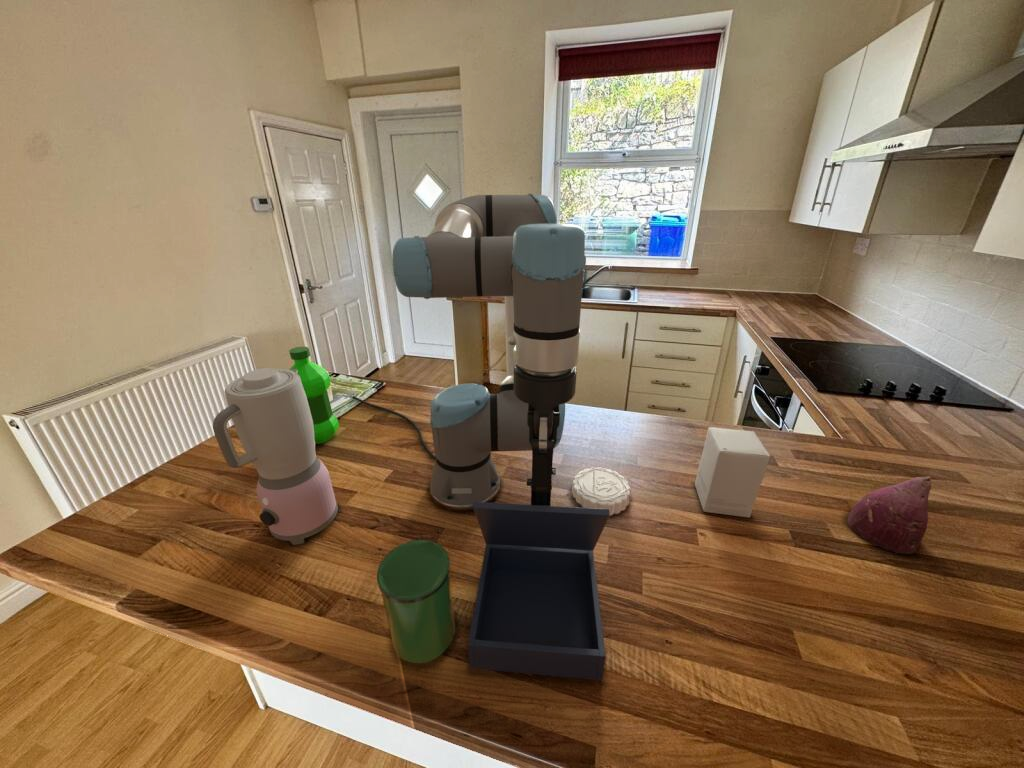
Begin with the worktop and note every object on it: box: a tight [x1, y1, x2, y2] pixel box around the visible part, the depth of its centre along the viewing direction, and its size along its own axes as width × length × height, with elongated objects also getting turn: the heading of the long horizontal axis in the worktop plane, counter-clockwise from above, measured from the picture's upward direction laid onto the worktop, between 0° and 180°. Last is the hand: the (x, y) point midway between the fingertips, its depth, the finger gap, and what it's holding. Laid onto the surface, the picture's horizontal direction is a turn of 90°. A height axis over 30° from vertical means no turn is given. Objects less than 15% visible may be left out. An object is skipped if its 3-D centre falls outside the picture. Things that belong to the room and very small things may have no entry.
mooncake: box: [571, 466, 632, 516], centre depth 84 cm, size 12×12×4 cm
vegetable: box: [847, 476, 932, 555], centre depth 73 cm, size 10×10×15 cm
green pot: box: [376, 539, 456, 664], centre depth 56 cm, size 9×9×14 cm
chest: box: [467, 543, 607, 681], centre depth 60 cm, size 17×18×6 cm
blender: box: [212, 367, 339, 546], centre depth 71 cm, size 16×12×32 cm
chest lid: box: [472, 502, 611, 552], centre depth 59 cm, size 18×18×1 cm
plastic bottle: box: [288, 345, 340, 445], centre depth 100 cm, size 10×10×25 cm
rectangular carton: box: [694, 426, 771, 518], centre depth 80 cm, size 9×9×15 cm
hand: (540, 515), depth 58 cm, fingers closed
